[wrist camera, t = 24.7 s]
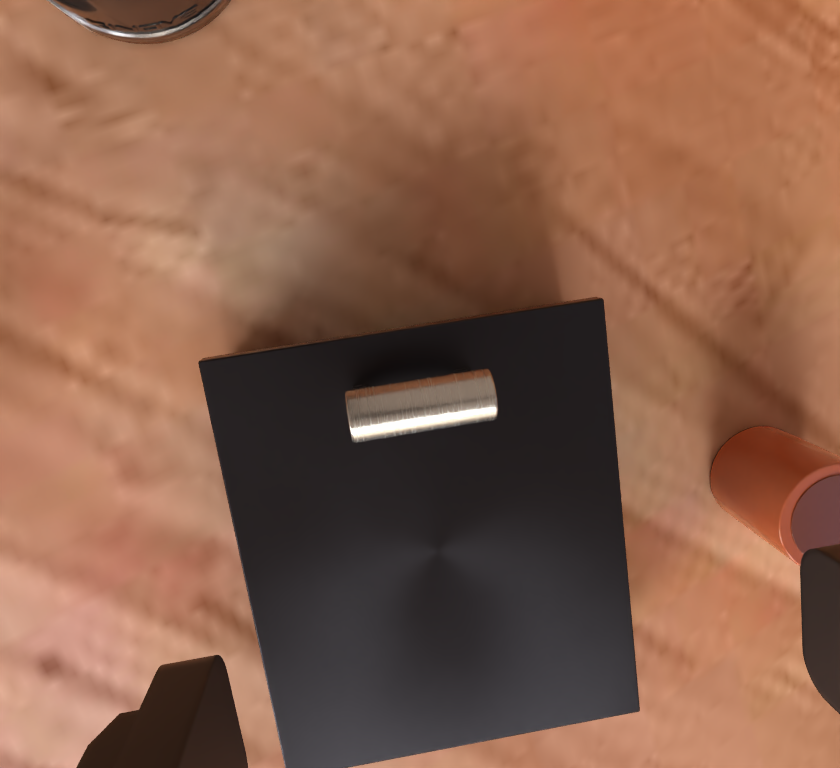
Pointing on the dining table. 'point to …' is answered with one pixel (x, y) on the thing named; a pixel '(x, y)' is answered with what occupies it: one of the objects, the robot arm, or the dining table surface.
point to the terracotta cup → (780, 489)
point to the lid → (430, 531)
